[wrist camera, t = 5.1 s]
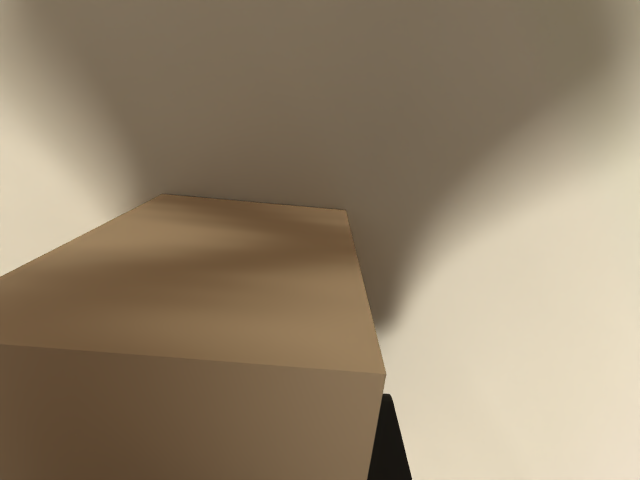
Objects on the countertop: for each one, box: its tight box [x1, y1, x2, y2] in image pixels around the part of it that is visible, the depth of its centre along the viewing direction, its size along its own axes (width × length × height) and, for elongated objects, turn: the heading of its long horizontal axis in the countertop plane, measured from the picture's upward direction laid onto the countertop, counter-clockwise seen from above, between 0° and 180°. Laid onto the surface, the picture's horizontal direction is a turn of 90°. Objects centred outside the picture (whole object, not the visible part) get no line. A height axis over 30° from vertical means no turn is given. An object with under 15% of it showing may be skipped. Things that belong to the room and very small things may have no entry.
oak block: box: [0, 194, 386, 480], centre depth 8 cm, size 4×9×6 cm, turn 175°
